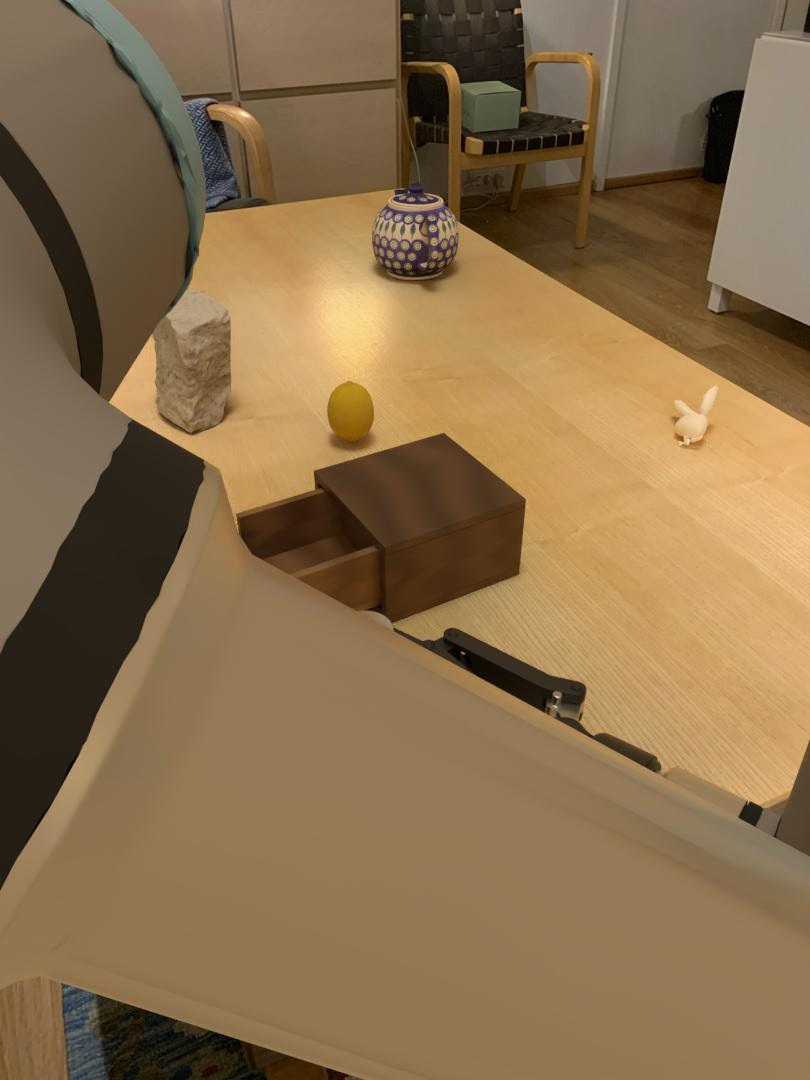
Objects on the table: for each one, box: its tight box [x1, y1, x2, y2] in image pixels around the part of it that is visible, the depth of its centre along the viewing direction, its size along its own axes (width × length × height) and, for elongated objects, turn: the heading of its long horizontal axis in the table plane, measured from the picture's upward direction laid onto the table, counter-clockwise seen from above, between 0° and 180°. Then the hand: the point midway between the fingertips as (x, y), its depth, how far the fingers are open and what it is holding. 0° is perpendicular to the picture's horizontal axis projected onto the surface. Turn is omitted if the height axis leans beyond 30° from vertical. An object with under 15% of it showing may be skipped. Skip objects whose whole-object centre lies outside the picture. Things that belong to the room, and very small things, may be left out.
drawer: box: [235, 487, 382, 611], centre depth 80 cm, size 15×13×7 cm
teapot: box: [371, 182, 460, 281], centre depth 150 cm, size 25×15×15 cm, turn 11°
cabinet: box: [313, 432, 527, 624], centre depth 85 cm, size 15×14×9 cm
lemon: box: [326, 380, 375, 443], centre depth 104 cm, size 6×6×8 cm
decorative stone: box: [151, 287, 232, 434], centre depth 108 cm, size 10×9×15 cm
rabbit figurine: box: [672, 385, 719, 447], centre depth 106 cm, size 6×4×8 cm
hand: (302, 652), depth 57 cm, fingers closed on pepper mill, 6 cm apart
